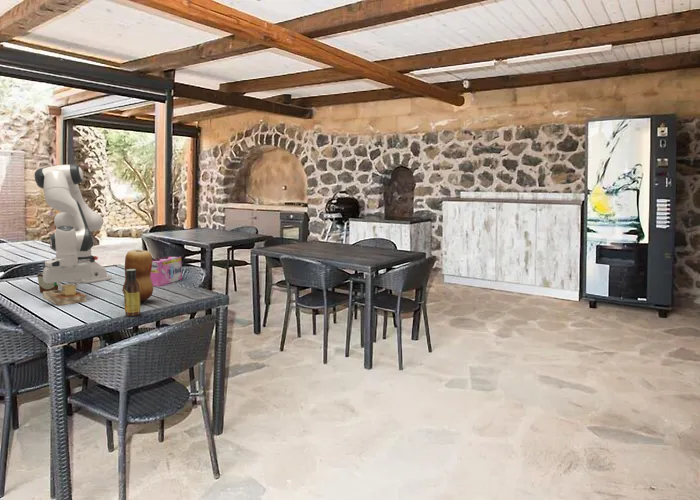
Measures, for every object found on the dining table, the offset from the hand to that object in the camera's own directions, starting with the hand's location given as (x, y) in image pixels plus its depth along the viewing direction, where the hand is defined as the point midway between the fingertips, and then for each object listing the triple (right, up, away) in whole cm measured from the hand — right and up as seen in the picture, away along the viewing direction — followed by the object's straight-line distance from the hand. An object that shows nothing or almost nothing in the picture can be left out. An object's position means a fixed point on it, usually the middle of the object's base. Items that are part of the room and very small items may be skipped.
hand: (68, 290), depth 242 cm
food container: (-19, -3, +19) cm, 27 cm away
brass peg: (0, -5, +1) cm, 5 cm away
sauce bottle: (+38, -9, -19) cm, 44 cm away
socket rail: (-4, -5, +5) cm, 8 cm away
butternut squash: (+32, -6, +3) cm, 32 cm away
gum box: (+27, 0, +51) cm, 58 cm away
